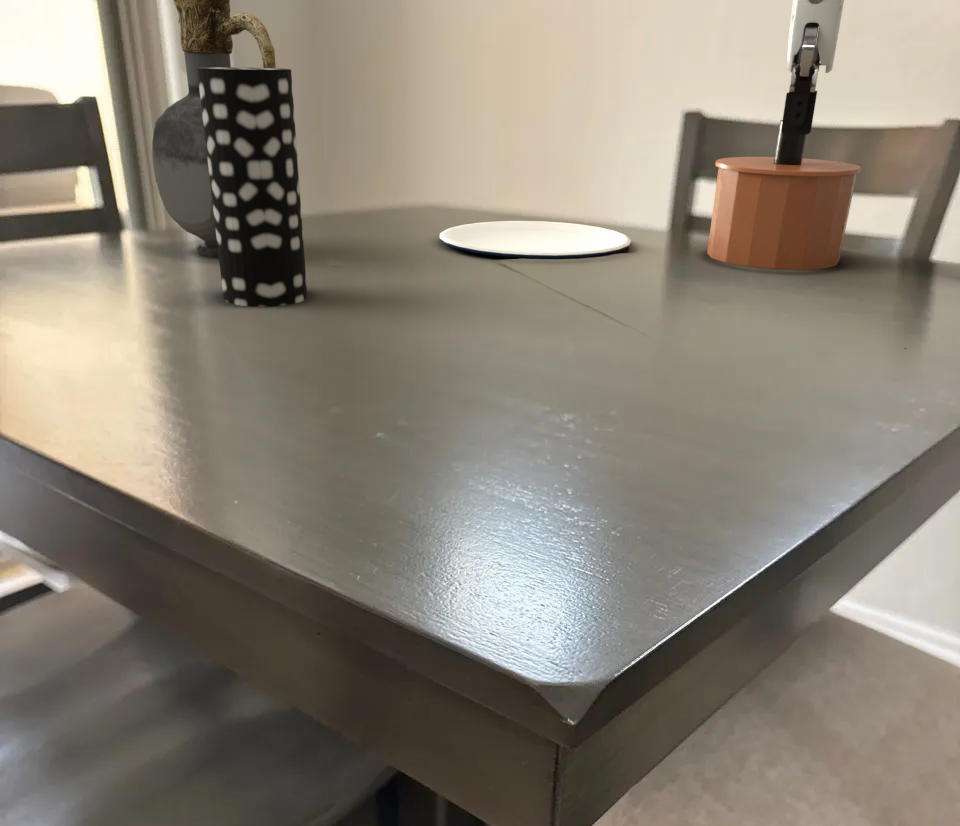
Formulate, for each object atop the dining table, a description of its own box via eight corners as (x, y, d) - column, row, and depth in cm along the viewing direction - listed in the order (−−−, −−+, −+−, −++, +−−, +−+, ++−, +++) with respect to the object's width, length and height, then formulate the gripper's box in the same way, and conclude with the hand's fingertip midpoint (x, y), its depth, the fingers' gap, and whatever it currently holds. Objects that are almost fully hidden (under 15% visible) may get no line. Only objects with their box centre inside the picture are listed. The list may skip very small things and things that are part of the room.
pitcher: (226, 239, 126) (195, -42, 110) (323, 260, 116) (305, -48, 100) (152, 250, 119) (109, -49, 103) (249, 273, 109) (217, -57, 93)
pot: (785, 248, 129) (800, 160, 124) (864, 270, 117) (885, 174, 111) (684, 253, 124) (695, 162, 119) (755, 277, 112) (771, 177, 106)
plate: (525, 272, 112) (525, 260, 111) (401, 240, 128) (401, 230, 128) (671, 250, 126) (672, 240, 125) (541, 224, 142) (542, 215, 141)
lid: (800, 165, 125) (808, 115, 122) (889, 180, 111) (901, 125, 108) (688, 167, 119) (694, 116, 116) (768, 184, 106) (778, 126, 103)
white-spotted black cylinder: (323, 294, 100) (308, 69, 89) (276, 311, 93) (254, 70, 83) (256, 286, 103) (235, 66, 92) (206, 301, 96) (177, 67, 86)
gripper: (864, -58, 96) (830, 137, 105) (858, -43, 110) (829, 127, 119) (785, -56, 98) (759, 135, 107) (790, -42, 112) (766, 126, 121)
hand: (796, 131), depth 113 cm, fingers open, 9 cm apart
